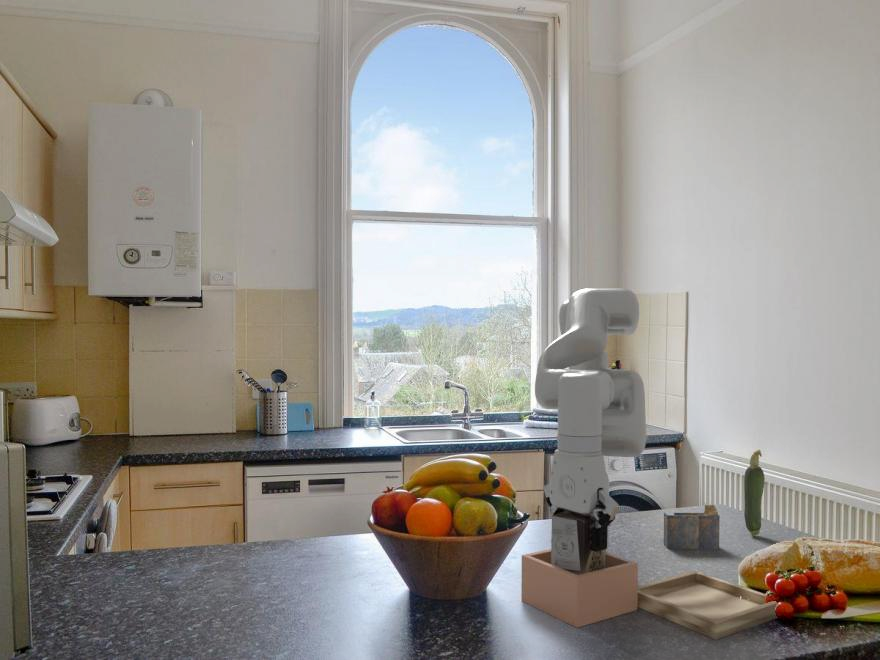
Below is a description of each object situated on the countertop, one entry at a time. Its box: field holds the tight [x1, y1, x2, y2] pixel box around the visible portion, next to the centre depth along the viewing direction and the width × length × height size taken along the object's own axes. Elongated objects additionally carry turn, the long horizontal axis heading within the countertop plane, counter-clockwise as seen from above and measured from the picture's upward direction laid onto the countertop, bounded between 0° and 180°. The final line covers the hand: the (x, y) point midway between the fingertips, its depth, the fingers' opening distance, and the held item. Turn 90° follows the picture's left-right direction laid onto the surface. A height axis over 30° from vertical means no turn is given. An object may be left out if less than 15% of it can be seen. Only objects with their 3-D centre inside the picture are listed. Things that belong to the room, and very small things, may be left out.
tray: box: [637, 570, 779, 641], centre depth 128 cm, size 18×18×2 cm
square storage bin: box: [520, 548, 639, 628], centre depth 129 cm, size 14×14×8 cm
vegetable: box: [743, 449, 766, 537], centre depth 173 cm, size 4×4×20 cm
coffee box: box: [550, 510, 606, 575], centre depth 129 cm, size 9×6×16 cm
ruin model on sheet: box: [663, 503, 721, 550], centre depth 164 cm, size 25×16×10 cm, turn 89°
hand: (578, 542), depth 129 cm, fingers open, 9 cm apart
